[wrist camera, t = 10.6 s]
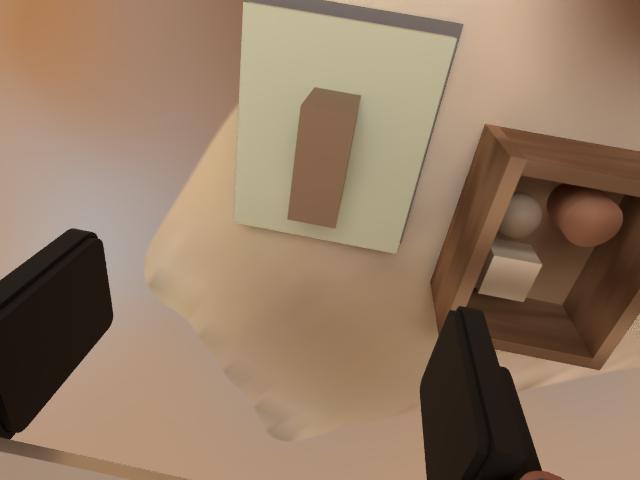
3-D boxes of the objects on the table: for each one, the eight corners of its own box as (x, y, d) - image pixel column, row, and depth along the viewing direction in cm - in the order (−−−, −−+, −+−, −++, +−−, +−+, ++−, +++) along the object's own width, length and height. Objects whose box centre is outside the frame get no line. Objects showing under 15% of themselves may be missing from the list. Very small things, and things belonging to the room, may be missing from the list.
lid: (254, 1, 24) (212, 3, 18) (451, 35, 23) (473, 48, 17) (243, 208, 30) (209, 258, 24) (395, 237, 30) (398, 295, 24)
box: (485, 124, 26) (511, 156, 20) (653, 154, 25) (722, 195, 20) (430, 282, 32) (439, 338, 27) (564, 308, 31) (599, 370, 26)
